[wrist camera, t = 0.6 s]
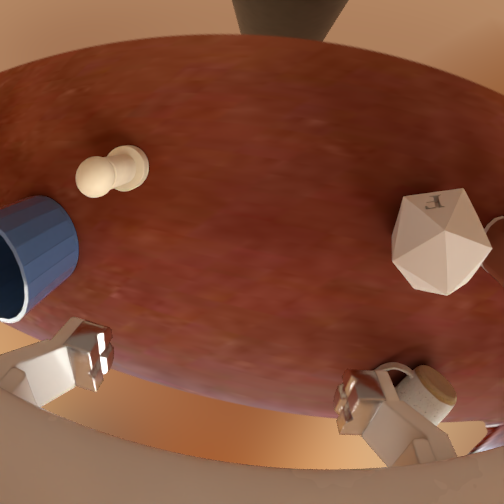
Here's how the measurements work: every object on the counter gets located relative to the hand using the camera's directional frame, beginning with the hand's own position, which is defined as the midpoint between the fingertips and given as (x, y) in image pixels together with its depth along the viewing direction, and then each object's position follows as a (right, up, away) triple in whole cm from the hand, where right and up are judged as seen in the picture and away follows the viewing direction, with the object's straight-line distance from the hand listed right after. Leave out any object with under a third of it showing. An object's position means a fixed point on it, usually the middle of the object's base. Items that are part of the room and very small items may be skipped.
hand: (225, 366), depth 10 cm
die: (+17, +6, +17) cm, 25 cm away
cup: (-22, +5, +19) cm, 29 cm away
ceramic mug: (+19, -12, +24) cm, 33 cm away
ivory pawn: (-10, +11, +16) cm, 22 cm away
